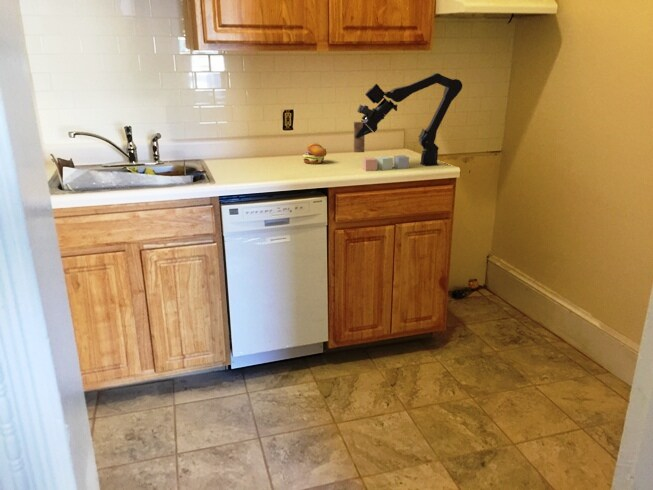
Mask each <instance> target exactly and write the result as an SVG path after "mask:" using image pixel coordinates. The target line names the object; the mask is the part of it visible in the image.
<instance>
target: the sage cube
mask: <svg viewBox="0 0 653 490" xmlns="http://www.w3.org/2000/svg"><path fill="white" fill-rule="evenodd" d="M376 159H377V170H381V171H387V170H393V163H394V157H390V156H387V155H386V156H377V157H376Z"/></svg>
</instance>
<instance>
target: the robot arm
mask: <svg viewBox="0 0 653 490" xmlns="http://www.w3.org/2000/svg"><path fill="white" fill-rule="evenodd" d="M435 84H439V86H440V85H441V86H442V87H444V89H443V90H444V91H443V95H442V98H441V100H440V102H439V104H438V105H437V109H436V111H435V112H434V115H433V116H432V119H431V120H430V123H429V124H428V126H427V127H426V129H425V128H422V129H421V132H420V134H419V135H418V143H419V145H420V146H421V147H422V148H423V149H422V153H421V154H420V155H421V156H420V158H421V159H420V164H421V165H423V166H425V167H426V166H427V167H428V165H429V166H435V165H434V164H439V163H438V158H439V157H438V155H439V146H438V145H437V144H436V143H435V141H436V138H437V133H438V129H439V128H440V126H441V124H442V121H443V119H444V117H445V116H446V114H447V111H448V109H449V108H450V105H451V103H452V102H453V100H454V99H455V98H456V97H458V95H459V94H460V92H461V91H462V89H463V82H462V81H461V80H460V79H457V78H449V77H447V76H444V75H442V74H441V73H438V72H436V73H434V72H433V73H432V74H431V75H429V76H427V77H424V78H422V79H420V80H417V81H414V82H412V83H410V84H407V85H401V86H397V87H394V88H392V89H390V90H389V91H383V89H382V88H381V87H380V86H379V85H378V83H375V84H374V85H373V86H371V88H369V89H368V90H367V91H366V92H365V96H366V97H367V98H368V99H369V100H370V102H371V103H372V104H378V105H377V106H375V107H373V108H372V109H370V108H369V106H368V105H366V104H365V105H362V104H359V106H358V108H357V110H356V111H357V113H358V114H362V115H363V116H362V117H361V120H360V122H363V127H362V128H361V130H360V131H359V132H358V134H357V135H356V138H360V137H362V136H364V135H365V136H366V135H369V134H371V133H376V131H377V130H378V124H379V123H380V122H381V121H382V120H384V119H385V117H386V116H388V114H389V113H390V112H391V111H392V110H394V111H395V112H397V111H398V104H395V103H400V102H402V101H404V100H405V99H407V98H408V97H409V96H411V95H412V94H414V93H417V92H419V91H422V90H424V89H426V88H429V87H431V86H432V85H435ZM385 97H386V98H385ZM388 99H390V100H388Z"/></svg>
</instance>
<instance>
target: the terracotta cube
mask: <svg viewBox="0 0 653 490" xmlns="http://www.w3.org/2000/svg"><path fill="white" fill-rule="evenodd" d="M362 170H364V172H374V171H375V172H376V171H377V170H378V169H377V157H374V156H371V157H363V158H362Z"/></svg>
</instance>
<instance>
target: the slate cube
mask: <svg viewBox="0 0 653 490" xmlns="http://www.w3.org/2000/svg"><path fill="white" fill-rule="evenodd" d="M409 164H410V157H409V156H407V155H404V154H402V155H401V154H400V155H393V167H394V168H395V169H397V170H402V169H409V168H410V167H409Z"/></svg>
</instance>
